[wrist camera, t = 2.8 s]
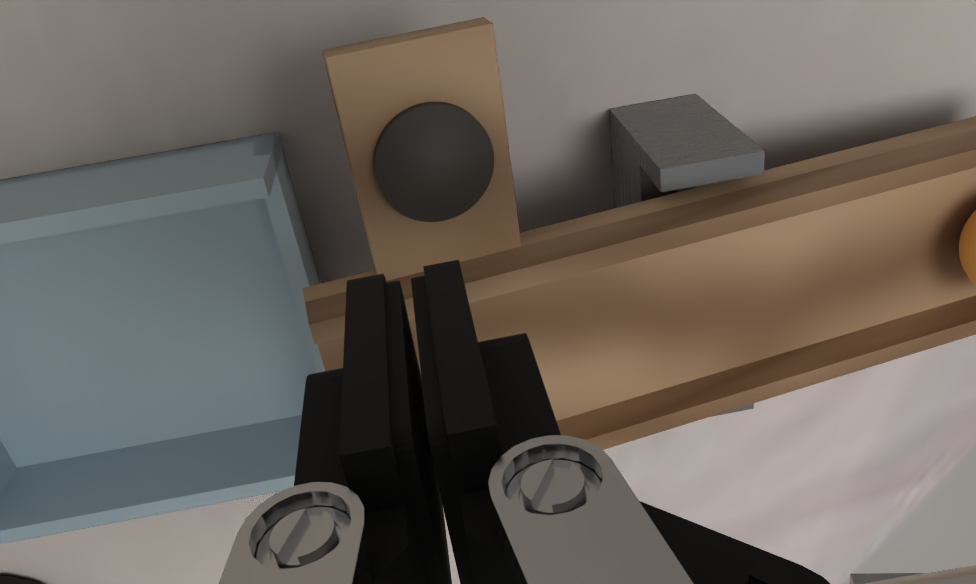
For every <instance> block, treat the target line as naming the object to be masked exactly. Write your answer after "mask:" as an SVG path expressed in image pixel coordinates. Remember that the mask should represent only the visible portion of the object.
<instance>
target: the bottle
mask: <svg viewBox="0 0 976 584" xmlns="http://www.w3.org/2000/svg"><path fill="white" fill-rule="evenodd" d="M0 584H39V583H37V582H34V581H31V580H26V579H21V578H16V577H11V576H0Z"/></svg>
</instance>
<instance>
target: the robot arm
mask: <svg viewBox="0 0 976 584" xmlns="http://www.w3.org/2000/svg"><path fill="white" fill-rule="evenodd" d="M423 268H424V276H420V277H415V278H411V286H412V295H413V304H414V314H415V323H416V332H417V342H418V351H419V360H420V368H419V364H418V359H417V355H416V350H415V346H414V341H413V337H412V332H411V328H410V323H409V319H408V314H407V310H406V305H405V300H404V296H403V291H402V287H401V283H400V280H399V281H393V282H388V283H387V282H386V279H385V276H384V274H379V275H373V276H368V277H363V278H357V279H352V280H347V286H346V309H345V332H344V355H343V368H340V369H335V370H329V371H324V372H319V373H314V374H309V375H308V376H307V378H306V383H305V391H304V400H303V409H302V418H301V427H300V436H299V445H298V453H297V462H296V471H295V480H294V486H293V487H291V488H288V489H286V490H284V491H281V492H279V493H276V494H275V495H273V496H272V497H270V498H269V499H267V500H266V501H264V502H263V503H261V504H260V505H259V506H258V507H257V508H256V509H255V510H254V511H253V512H252V513H251V514H250V515H249V516H248V517H247V518H246V519H245V521H244V523H243V525H242V526H241V528H240V530H239V532H238V533H237V536H236V539H235V541H234V544H233V547H232V549H231V552H230V555H229V557H228V560H227V563H226V565H225V568H224V571H223V573H222V576H221V579H220V581H219V584H452V581H451V572H450V564H449V555H448V547H447V539H446V530H445V522H444V513H445V517H446V522H447V526H448V530H449V535H450V539H451V544H452V548H453V553H454V557H455V561H456V566H457V570H458V575H459V579H460V583H461V584H830V583H829V582H828V581H827V580H826V579H824V578H823V577H822V576H820V575H818V574H816V573H815V572H813V571H811V570H809V569H807V568H805V567H803V566H801V565H799V564H796V563H794V562H791V561H789V560H786V559H784V558H781V557H779V556H776V555H774V554H771V553H769V552H766V551H764V550H761V549H759V548H756V547H754V546H751V545H749V544H746V543H744V542H741V541H739V540H736V539H734V538H731V537H728V536H726V535H723V534H721V533H718V532H716V531H713V530H711V529H708V528H706V527H703V526H701V525H698V524H696V523H693V522H691V521H688V520H686V519H683V518H681V517H678V516H676V515H673V514H671V513H668V512H666V511H663V510H661V509H658V508H655V507H653V506H650V505H648V504H645V503H643V502H640V501H639V500H638V499H637V497H636V496H635V494H634V493H633V491H632V490H631V488H630V487H629V485H628V484H627V482H626V480H625V479H624V477H623V476H622V474H621V473H620V471H619V470H618V468H617V467H616V465H615V464H614V462H613V461H612V459H611V458H610V457H609V456H608V455H607V454H606V453H605V452H604V451H603V450H602V449H601V448H600V447H598V446H596V445H595V444H593V443H591V442H589V441H587V440H584V439H580V438H576V437H572V436H562V435H561V433H560V430H559V427H558V424H557V421H556V418H555V415H554V412H553V409H552V406H551V404H550V401H549V398H548V395H547V392H546V389H545V386H544V383H543V380H542V377H541V374H540V371H539V368H538V365H537V362H536V359H535V356H534V353H533V350H532V347H531V344H530V341H529V338H528V336H527V334H526V333H522V334H517V335H512V336H507V337H502V338H496V339H491V340H486V341H481V342H478V340H477V336H476V332H475V327H474V323H473V319H472V314H471V310H470V306H469V301H468V297H467V293H466V288H465V284H464V280H463V275H462V271H461V267H460V262H459V260H454V261H449V262H443V263H438V264H433V265H427V266H423ZM420 370H421V373H420ZM442 504H443V505H442ZM443 508H444V513H443ZM849 584H976V565H973V566H967V567H961V568H955V569H949V570H943V571H937V572H931V573H881V574H850V582H849Z"/></svg>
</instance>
